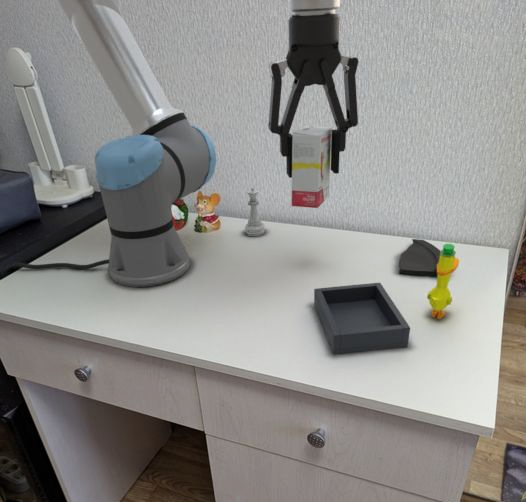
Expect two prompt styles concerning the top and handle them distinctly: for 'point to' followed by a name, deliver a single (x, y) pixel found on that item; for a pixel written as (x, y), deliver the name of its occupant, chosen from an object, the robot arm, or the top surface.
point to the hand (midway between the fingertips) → (312, 173)
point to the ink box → (311, 165)
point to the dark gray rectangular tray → (360, 318)
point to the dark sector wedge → (420, 259)
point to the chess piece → (254, 217)
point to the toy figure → (443, 281)
